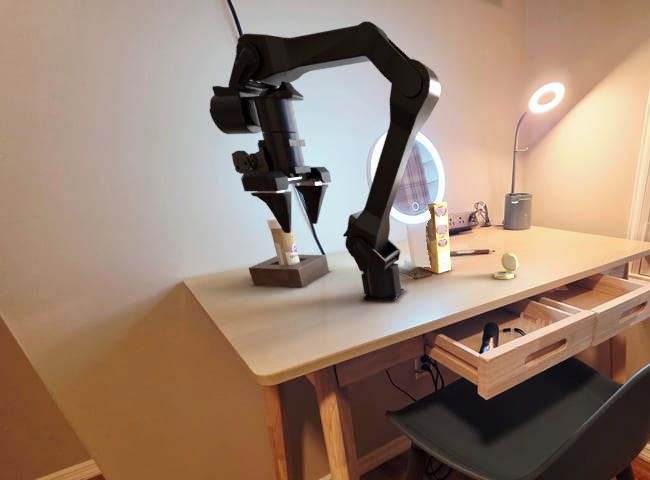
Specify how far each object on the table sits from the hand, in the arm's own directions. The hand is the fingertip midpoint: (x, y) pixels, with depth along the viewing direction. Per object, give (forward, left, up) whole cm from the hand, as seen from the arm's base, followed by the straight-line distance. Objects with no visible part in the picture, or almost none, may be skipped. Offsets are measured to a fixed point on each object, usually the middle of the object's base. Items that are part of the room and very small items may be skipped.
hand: (301, 228), depth 71 cm
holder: (+11, -9, -13) cm, 19 cm away
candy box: (-20, -20, -13) cm, 31 cm away
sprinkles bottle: (+11, -9, -13) cm, 19 cm away
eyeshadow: (-38, -16, -13) cm, 43 cm away
